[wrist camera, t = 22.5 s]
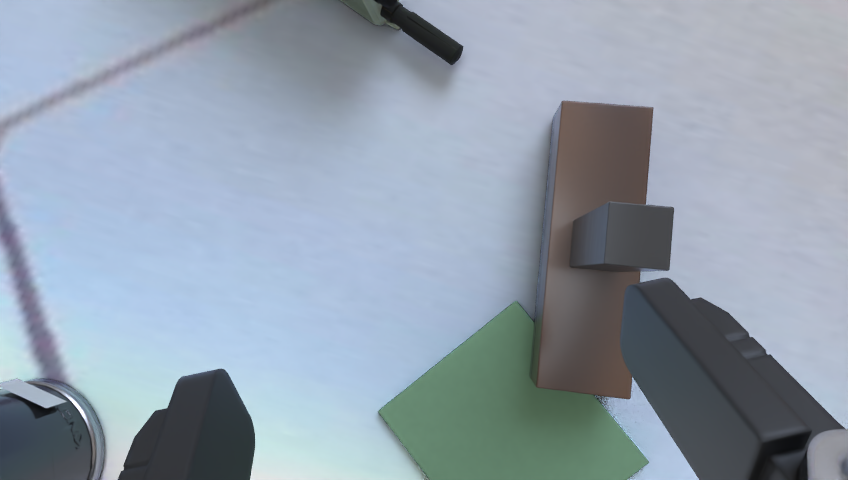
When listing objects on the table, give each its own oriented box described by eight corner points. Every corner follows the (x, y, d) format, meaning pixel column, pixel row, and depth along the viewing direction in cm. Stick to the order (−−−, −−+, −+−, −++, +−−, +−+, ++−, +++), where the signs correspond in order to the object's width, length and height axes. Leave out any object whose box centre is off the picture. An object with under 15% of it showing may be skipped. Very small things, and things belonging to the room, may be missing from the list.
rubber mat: (501, 571, 30) (502, 575, 30) (379, 410, 31) (377, 411, 31) (647, 460, 30) (649, 462, 29) (515, 300, 31) (516, 300, 30)
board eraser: (529, 376, 30) (559, 426, 20) (552, 116, 31) (592, 42, 21) (614, 387, 30) (688, 443, 20) (635, 123, 31) (716, 49, 21)
